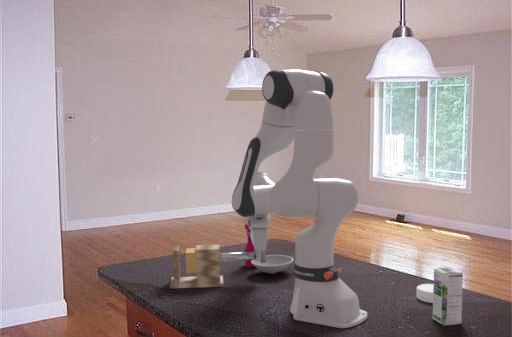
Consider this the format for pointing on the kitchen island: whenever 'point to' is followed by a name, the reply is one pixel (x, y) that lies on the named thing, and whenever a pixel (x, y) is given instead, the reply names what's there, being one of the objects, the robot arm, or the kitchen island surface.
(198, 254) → the bracket
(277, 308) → the kitchen island surface
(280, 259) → the dish
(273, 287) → the kitchen island surface
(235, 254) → the shaft
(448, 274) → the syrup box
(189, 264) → the block
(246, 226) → the pepper mill
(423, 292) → the white round disc
